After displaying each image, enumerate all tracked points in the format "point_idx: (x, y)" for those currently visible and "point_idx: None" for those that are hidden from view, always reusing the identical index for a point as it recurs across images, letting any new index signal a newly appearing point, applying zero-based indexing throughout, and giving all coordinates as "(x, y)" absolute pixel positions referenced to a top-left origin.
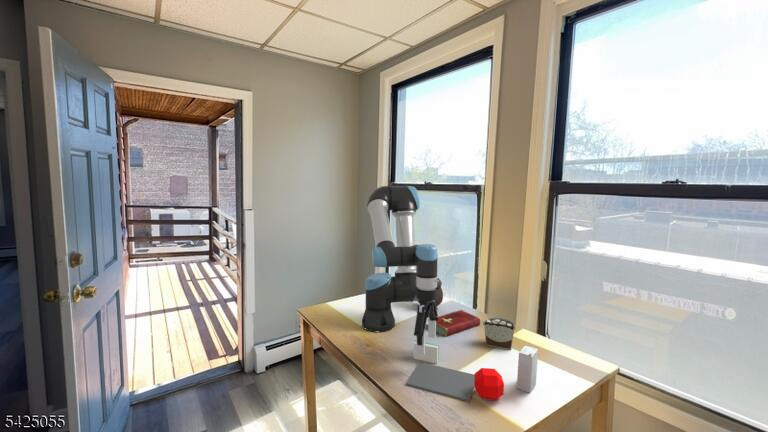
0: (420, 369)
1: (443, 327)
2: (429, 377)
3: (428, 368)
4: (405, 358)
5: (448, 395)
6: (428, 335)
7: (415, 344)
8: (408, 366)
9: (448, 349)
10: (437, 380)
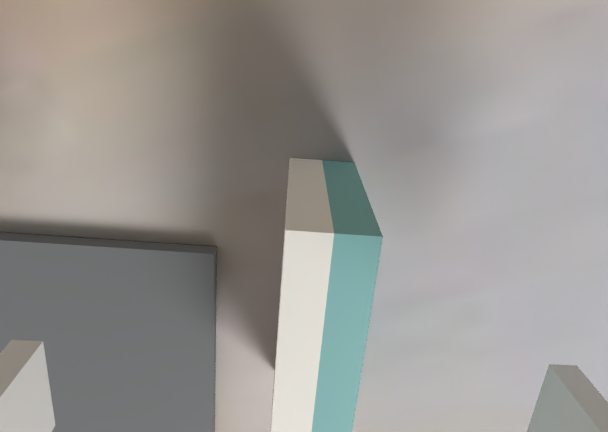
0: (85, 284)
1: None
2: None
3: (137, 340)
4: (252, 73)
5: None
6: (562, 383)
7: (284, 250)
8: (111, 152)
9: None
10: None
